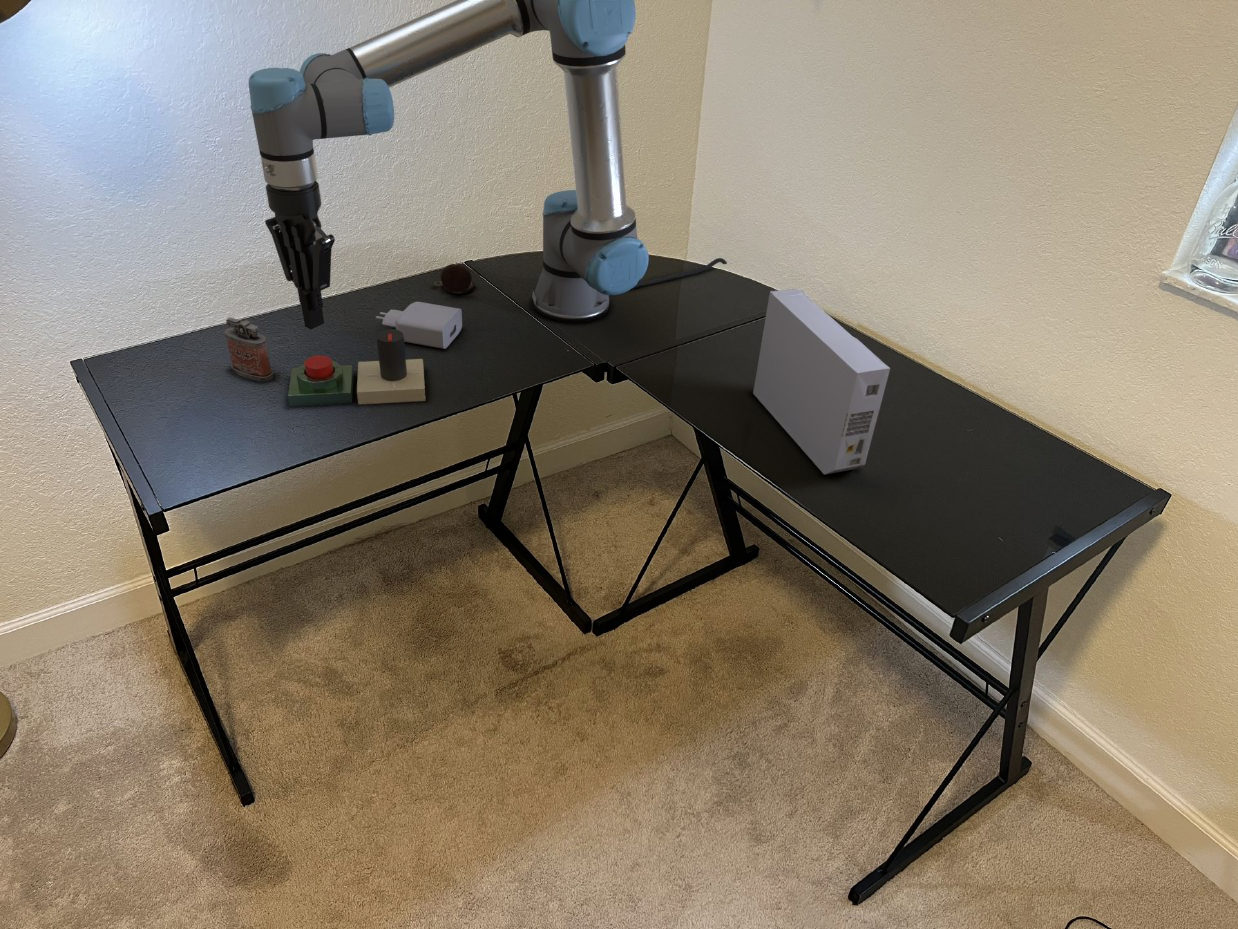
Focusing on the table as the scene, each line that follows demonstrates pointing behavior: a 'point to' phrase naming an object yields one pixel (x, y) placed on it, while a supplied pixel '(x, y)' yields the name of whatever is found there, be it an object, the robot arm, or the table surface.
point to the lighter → (248, 350)
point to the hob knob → (391, 354)
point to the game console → (819, 382)
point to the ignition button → (319, 367)
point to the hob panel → (390, 384)
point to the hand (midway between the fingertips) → (314, 324)
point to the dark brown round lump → (456, 279)
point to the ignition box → (321, 387)
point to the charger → (426, 323)
